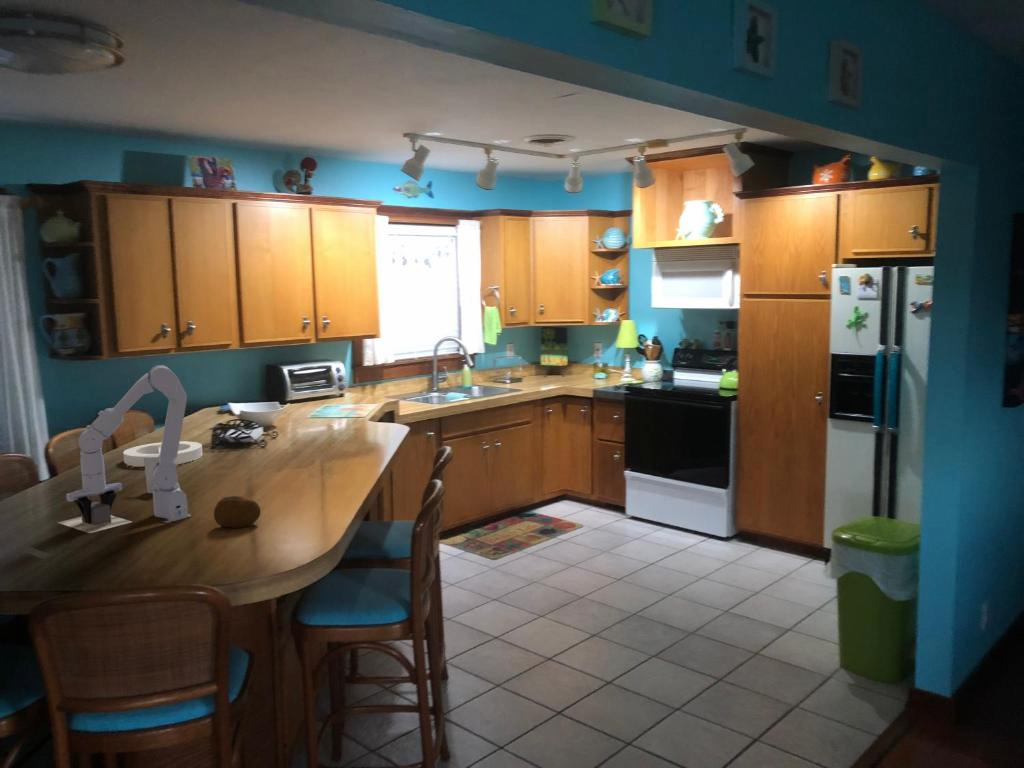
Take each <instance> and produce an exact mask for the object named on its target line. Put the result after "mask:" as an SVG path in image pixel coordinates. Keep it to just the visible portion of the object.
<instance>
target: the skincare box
mask: <svg viewBox="0 0 1024 768" xmlns="http://www.w3.org/2000/svg"><path fill="white" fill-rule="evenodd" d="M158 458H159V455H148V456H146V457H145V458H144V465H145V468H144V473H145V480H146V481H145V482H146V490H147V494H153V491H152V487H153V486H154V485H155V483H154V478H153V475H152V471H153V468H154V467H155V466H156V464H157V462H158Z"/></svg>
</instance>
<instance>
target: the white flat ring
mask: <svg viewBox="0 0 1024 768" xmlns="http://www.w3.org/2000/svg"><path fill="white" fill-rule="evenodd" d="M161 444H162V441H160V442H153V443H148V444H142V445H137V446H133V447H132V446H131V447H130V448H127V449H125V450H123V453H122V454H123V464H124V463H126V464H128V465H132V466H141V467H142V466H145V465H144V458H145V457H146V456H148V455H159V454H160V450H161ZM202 455H203V445H202V443H201V442H196V441H186V440H185V441H183V440H182V441H181V440H180V442H179V448H178V454H177V464H181V463H185V462H189V461H192V460H196V459H198V458H200V457H201V456H202ZM203 456H204V455H203Z"/></svg>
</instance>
